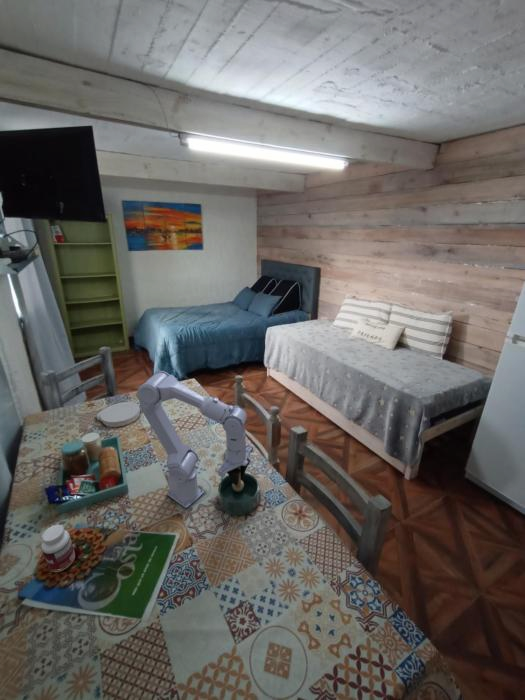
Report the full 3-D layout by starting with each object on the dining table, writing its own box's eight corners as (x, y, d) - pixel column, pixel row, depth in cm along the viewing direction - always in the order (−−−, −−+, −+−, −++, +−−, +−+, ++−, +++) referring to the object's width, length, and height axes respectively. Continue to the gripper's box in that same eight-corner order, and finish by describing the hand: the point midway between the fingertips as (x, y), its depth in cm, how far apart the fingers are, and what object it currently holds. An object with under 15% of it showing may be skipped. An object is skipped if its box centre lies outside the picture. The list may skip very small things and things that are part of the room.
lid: (109, 405, 158) (108, 400, 157) (147, 408, 156) (146, 403, 155) (87, 425, 142) (86, 419, 141) (128, 429, 140) (127, 423, 139)
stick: (233, 486, 100) (232, 466, 97) (237, 482, 101) (236, 462, 98) (238, 489, 99) (237, 469, 96) (242, 485, 100) (241, 465, 97)
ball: (229, 490, 107) (229, 481, 105) (237, 483, 110) (237, 474, 108) (238, 496, 105) (238, 487, 103) (246, 488, 108) (246, 479, 106)
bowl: (210, 502, 103) (209, 490, 101) (236, 478, 113) (236, 466, 111) (242, 523, 96) (241, 510, 94) (266, 495, 106) (266, 483, 104)
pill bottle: (45, 563, 84) (34, 533, 80) (70, 546, 89) (61, 517, 85) (53, 578, 81) (43, 548, 76) (79, 560, 85) (70, 531, 81)
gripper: (230, 465, 87) (231, 502, 92) (261, 438, 98) (261, 472, 103) (211, 454, 91) (214, 491, 96) (243, 430, 102) (244, 464, 107)
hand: (237, 481), depth 99 cm, fingers closed on stick, 2 cm apart
